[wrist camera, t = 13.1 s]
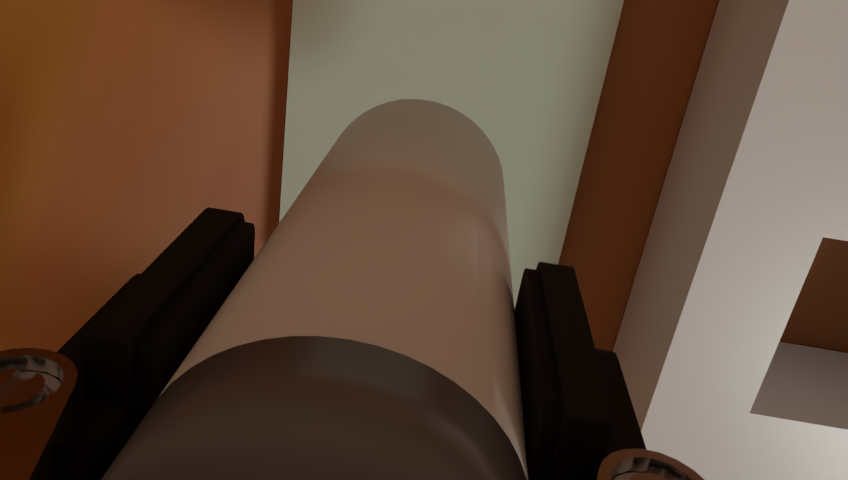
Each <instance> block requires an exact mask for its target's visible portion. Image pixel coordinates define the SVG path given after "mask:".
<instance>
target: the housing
mask: <svg viewBox="0 0 848 480" xmlns="http://www.w3.org/2000/svg"><path fill="white" fill-rule="evenodd" d="M823 237H825V238H831V239H837V240H843V241H848V0H719V3H718V6H717V10H716V13H715V16H714V20H713V23H712V26H711V29H710V33H709V36H708V39H707V43H706V46H705V49H704V53H703V56H702V59H701V62H700V66H699V69H698V72H697V76H696V79H695V82H694V85H693V89H692V92H691V95H690V99H689V102H688V105H687V108H686V112H685V115H684V118H683V122H682V125H681V128H680V131H679V135H678V138H677V141H676V145H675V148H674V151H673V154H672V158H671V161H670V164H669V168H668V171H667V174H666V178H665V181H664V184H663V187H662V191H661V194H660V197H659V201H658V204H657V207H656V210H655V214H654V217H653V220H652V224H651V227H650V230H649V233H648V237H647V240H646V243H645V247H644V250H643V253H642V256H641V260H640V263H639V266H638V270H637V273H636V276H635V280H634V283H633V286H632V289H631V293H630V296H629V299H628V303H627V306H626V309H625V312H624V316H623V319H622V322H621V326H620V329H619V332H618V335H617V339H616V342H615V345H614V349H613V352H615V353H616V355H617V357H618V360H619V363H620V366H621V369H622V373H623V376H624V379H625V382H626V385H627V389H628V392H629V395H630V398H631V401H632V405H633V408H634V411H635V414H636V418H637V421H638V424H639V427H640V430H641V434H642V437H643V440H644V443H645V446H646V450H650V451H655V452H659V453H662V454H664V455H667V456H669V457H672V458H674V459H677V460H678V461H680V462H682V463H683V464H685V465H687V466H688V467H690V468H691V469H693V470H694V471H696V472H697V473H698V474H699V475H700V476H701V477H702V478H703V479H704V480H848V353H845V352H839V351H833V350H827V349H821V348H815V347H809V346H803V345H797V344H791V343H785V342H779V341H780V339H781V337H782V334H783V332H784V329H785V327H786V325H787V322H788V320H789V317H790V315H791V313H792V310H793V308H794V306H795V303H796V301H797V298H798V296H799V294H800V291H801V289H802V286H803V284H804V282H805V279H806V277H807V275H808V272H809V270H810V267H811V265H812V263H813V260H814V258H815V255H816V253H817V251H818V248H819V246H820V243H821V241H822V239H823Z"/></svg>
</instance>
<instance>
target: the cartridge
mask: <svg viewBox="0 0 848 480" xmlns="http://www.w3.org/2000/svg"><path fill="white" fill-rule="evenodd" d="M101 480H528V468H527V456H526V444H525V432H524V420H523V408H522V396H521V384H520V372H519V360H518V348H517V336H516V323H515V311H514V299H513V287H512V275H511V263H510V251H509V239H508V227H507V215H506V203H505V191H504V179H503V173H502V167H501V164H500V160H499V157H498V155H497V153H496V151H495V148H494V146H493V145H492V143H491V142H490V140H489V138H488V137H487V136H486V134H485V133H484V132H483V131H482V130H481V128H480V127H478V126H477V125H476V124H475V123H474V122H473V121H472V120H471V119H469V118H468V117H467V116H465V115H464V114H462V113H461V112H459V111H457V110H455V109H453V108H451V107H449V106H446V105H443V104H441V103H437V102H433V101H429V100H421V99H402V100H396V101H390V102H387V103H384V104H381V105H378V106H376V107H374V108H371V109H369V110H367V111H366V112H364V113H363V114H361V115H360V116H358V117H357V118H356V119H355V120H354V121H352V122H351V123H350V124H349V125H348V126H347V127H346V129H345V130H344V131H343V132H342V133H341V135H340V136H339V138H338V139H337V141H336V142H335V143H334V145H333V146H332V148H331V149H330V151H329V152H328V154H327V155H326V156H325V158H324V159H323V161H322V162H321V164H320V165H319V166H318V168H317V169H316V171H315V172H314V174H313V175H312V177H311V178H310V179H309V181H308V182H307V184H306V185H305V187H304V188H303V190H302V191H301V192H300V194H299V195H298V197H297V198H296V200H295V201H294V202H293V204H292V205H291V207H290V208H289V210H288V211H287V213H286V214H285V215H284V217H283V218H282V220H281V221H280V223H279V224H278V226H277V227H276V228H275V230H274V231H273V233H272V234H271V236H270V237H269V238H268V240H267V241H266V243H265V244H264V246H263V247H262V249H261V250H260V251H259V253H258V254H257V256H256V257H255V259H254V260H253V261H252V263H251V264H250V266H249V267H248V269H247V270H246V272H245V273H244V274H243V276H242V277H241V279H240V280H239V282H238V283H237V285H236V286H235V287H234V289H233V290H232V292H231V293H230V295H229V296H228V297H227V299H226V300H225V302H224V303H223V305H222V306H221V308H220V309H219V310H218V312H217V313H216V315H215V316H214V318H213V319H212V321H211V322H210V323H209V325H208V326H207V328H206V329H205V331H204V332H203V333H202V335H201V336H200V338H199V339H198V341H197V342H196V344H195V345H194V346H193V348H192V349H191V351H190V352H189V354H188V355H187V356H186V358H185V359H184V361H183V362H182V364H181V365H180V367H179V368H178V369H177V371H176V372H175V374H174V375H173V377H172V378H171V380H170V381H169V382H168V384H167V385H166V387H165V388H164V390H163V391H162V392H161V394H160V395H159V397H158V398H157V400H156V401H155V403H154V404H153V405H152V407H151V408H150V410H149V411H148V413H147V414H146V416H145V417H144V418H143V420H142V421H141V423H140V424H139V426H138V427H137V428H136V430H135V431H134V433H133V434H132V436H131V437H130V439H129V440H128V441H127V443H126V444H125V446H124V447H123V449H122V450H121V452H120V453H119V454H118V456H117V457H116V459H115V460H114V462H113V463H112V464H111V466H110V467H109V469H108V470H107V472H106V473H105V475H104V476H103V477H102V479H101Z"/></svg>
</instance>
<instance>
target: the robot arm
mask: <svg viewBox="0 0 848 480" xmlns="http://www.w3.org/2000/svg"><path fill="white" fill-rule="evenodd" d="M254 240H255V228H254V225H253V224H252V223H247V222H245V220H244V216H243V214H242V213H239V212H233V211H227V210H221V209H215V208H209V207H208V208H206V209H205V210H204V211H203V212H202V213H201V214H200V215H199V216H198V217H197V218H196V219H195V220H194V221H193V222H192V223H191V224H190V225H189V226H188V227H187V228H186V229H185V230H184V231H183V232H182V233H181V234H180V235H179V236H178V237H177V238H176V239H175V240H174V241H173V242H172V243H171V244H170V245H169V246H168V247H167V248H166V249H165V250H164V251H163V252H162V253H161V254H160V255H159V256H158V257H157V258H156V259H155V261H154V262H153V263H152V264H151V265H150V266H149V267H148V268H147V269H146V270H145V271H144V272H143V273H142V274H137V275H135V276H134V277H132V278H131V279H130V280H129V281H128V282H127V283H126V284H125V285H124V286H123V287H122V288H121V289H120V290H119V291H118V292H117V293H116V294H115V295H114V296H113V297H112V298H111V299H110V300H109V301H108V302H107V303H106V304H105V305H104V306H103V307H102V308H101V309H100V310H99V311H98V312H97V313H96V314H95V315H94V316H93V317H92V318H91V319H90V320H89V321H88V322H87V323H86V324H85V325H84V326H83V327H82V328H81V329H80V330H79V331H78V332H77V333H76V334H75V335H74V336H73V337H72V338H71V339H70V340H69V341H68V342H67V343H66V344H65V345H64V346H63V347H62V348H61V349H60V350H59V351H58V352H57V353H56V352H53V351H51V350H44V349H36V348H20V349H9V350H4V351H0V480H101V479H102V477H103V476H104V475H105V473H106V472H107V470H108V469H109V467H110V466H111V464H112V463H113V462H114V460H115V459H116V457H117V456H118V454H119V453H120V452H121V450H122V449H123V447H124V446H125V444H126V443H127V441H128V440H129V439H130V437H131V436H132V434H133V433H134V431H135V430H136V428H137V427H138V426H139V424H140V423H141V421H142V420H143V418H144V417H145V416H146V414H147V413H148V411H149V410H150V408H151V407H152V405H153V404H154V403H155V401H156V400H157V398H158V397H159V395H160V394H161V392H162V391H163V390H164V388H165V387H166V385H167V384H168V382H169V381H170V380H171V378H172V377H173V375H174V374H175V372H176V371H177V369H178V368H179V367H180V365H181V364H182V362H183V361H184V359H185V358H186V356H187V355H188V354H189V352H190V351H191V349H192V348H193V346H194V345H195V344H196V342H197V341H198V339H199V338H200V336H201V335H202V333H203V332H204V331H205V329H206V328H207V326H208V325H209V323H210V322H211V321H212V319H213V318H214V316H215V315H216V313H217V312H218V310H219V309H220V308H221V306H222V305H223V303H224V302H225V300H226V299H227V297H228V296H229V295H230V293H231V292H232V290H233V289H234V287H235V286H236V285H237V283H238V282H239V280H240V279H241V277H242V276H243V274H244V273H245V272H246V270H247V269H248V267H249V266H250V264H251V263H252V261H253V260H254ZM514 311H515V323H516V336H517V348H518V360H519V372H520V384H521V396H522V408H523V420H524V432H525V444H526V456H527V468H528V480H704V479H703V478H702V477H701V476H700V475H699V474H698V473H697V472H696V471H694V470H693V469H691V468H690V467H688V466H687V465H685V464H683V463H682V462H680V461H678V460H677V459H674V458H672V457H669V456H667V455H664V454H662V453H659V452H655V451H650V450H646V446H645V443H644V440H643V437H642V434H641V430H640V427H639V424H638V421H637V418H636V414H635V411H634V408H633V405H632V401H631V398H630V395H629V392H628V389H627V385H626V382H625V379H624V376H623V373H622V369H621V366H620V363H619V360H618V357H617V355H616V353H615V352H613V351H608V350H602V349H596V348H595V346H594V343H593V339H592V335H591V331H590V327H589V324H588V320H587V316H586V312H585V309H584V305H583V301H582V297H581V293H580V290H579V286H578V282H577V278H576V275H575V271H574V268H573V267H569V266H563V265H557V264H551V263H545V262H539V263H538V265H537V268H536V270H534V269H528V268H525V270H524V272H523V276H522V280H521V284H520V289H519V293H518V297H517V302H516V306H515V310H514Z"/></svg>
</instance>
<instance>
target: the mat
mask: <svg viewBox="0 0 848 480" xmlns="http://www.w3.org/2000/svg"><path fill="white" fill-rule="evenodd" d="M623 3H624V0H293V9H292V25H291V41H290V57H289V73H288V89H287V105H286V121H285V137H284V153H283V169H282V185H281V201H280V217H279V223H280V221H281V220H282V218H283V217H284V215H285V214H286V213H287V211H288V210H289V208H290V207H291V205H292V204H293V202H294V201H295V200H296V198H297V197H298V195H299V194H300V192H301V191H302V190H303V188H304V187H305V185H306V184H307V182H308V181H309V179H310V178H311V177H312V175H313V174H314V172H315V171H316V169H317V168H318V166H319V165H320V164H321V162H322V161H323V159H324V158H325V156H326V155H327V154H328V152H329V151H330V149H331V148H332V146H333V145H334V143H335V142H336V141H337V139H338V138H339V136H340V135H341V133H342V132H343V131H344V130H345V129H346V127H347V126H348V125H349V124H350V123H351V122H352V121H354V120H355V119H356V118H357V117H358V116H360V115H361V114H363V113H364V112H366V111H367V110H369V109H371V108H374V107H376V106H378V105H381V104H384V103H387V102H390V101H396V100H402V99H421V100H429V101H433V102H437V103H441V104H443V105H446V106H449V107H451V108H453V109H455V110H457V111H459V112H461V113H462V114H464V115H465V116H467V117H468V118H469V119H471V120H472V121H473V122H474V123H475V124H476V125H477V126H478V127H480V128H481V130H482V131H483V132H484V133H485V134H486V136H487V137H488V138H489V140H490V142H491V143H492V145H493V146H494V148H495V151H496V153H497V155H498V157H499V160H500V164H501V167H502V173H503V179H504V191H505V203H506V215H507V227H508V239H509V251H510V263H511V275H512V287H513V299H514V308H515V306H516V302H517V297H518V293H519V289H520V284H521V280H522V276H523V272H524V270H525V268H528V269H534V270H536V268H537V265H538V263H539V262H545V263H551V264H557V265H558V263H559V259H560V255H561V251H562V247H563V243H564V239H565V235H566V231H567V227H568V223H569V219H570V215H571V211H572V207H573V203H574V199H575V195H576V191H577V187H578V183H579V179H580V175H581V171H582V167H583V163H584V159H585V155H586V151H587V147H588V143H589V139H590V135H591V131H592V127H593V123H594V119H595V115H596V111H597V107H598V103H599V99H600V95H601V91H602V87H603V83H604V79H605V75H606V71H607V67H608V63H609V59H610V55H611V51H612V47H613V43H614V39H615V35H616V31H617V27H618V23H619V19H620V15H621V11H622V7H623Z"/></svg>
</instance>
